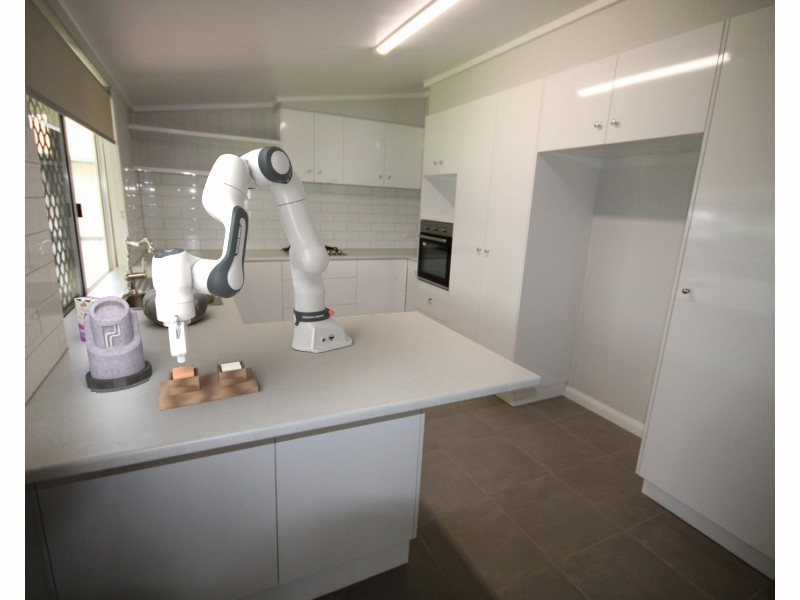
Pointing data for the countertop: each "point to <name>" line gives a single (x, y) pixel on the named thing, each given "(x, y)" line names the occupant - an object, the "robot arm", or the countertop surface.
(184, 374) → the terracotta key
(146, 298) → the gourd
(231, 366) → the ivory key
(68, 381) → the countertop surface
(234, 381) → the key panel
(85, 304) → the candy bar box
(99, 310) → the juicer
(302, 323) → the robot arm
